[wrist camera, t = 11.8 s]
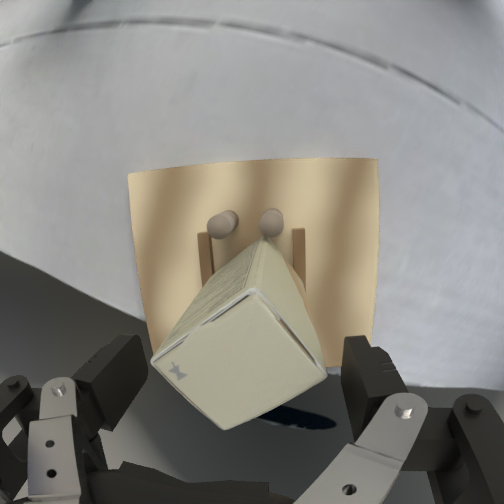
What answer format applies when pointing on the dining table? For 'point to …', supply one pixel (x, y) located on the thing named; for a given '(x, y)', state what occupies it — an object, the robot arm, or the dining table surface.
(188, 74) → the dining table surface
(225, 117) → the dining table surface
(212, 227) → the tray
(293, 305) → the box
